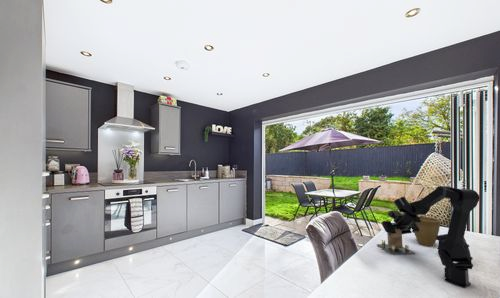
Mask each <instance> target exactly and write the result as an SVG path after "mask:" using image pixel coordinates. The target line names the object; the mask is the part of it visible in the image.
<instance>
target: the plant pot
mask: <svg viewBox="0 0 500 298" xmlns="http://www.w3.org/2000/svg"><path fill="white" fill-rule="evenodd" d="M418 217H420V220H421V222H415V223H416V225H417V226H418V228H419V232H418V233H413V234H414V236H415V239H416V240H417V243H418V244H419V245H421V246H425V247H434V246H435V244H436V241H437V240H436V236H438V235H439V233H440V228H441V227H440V226H441V220H440V219H438V218H434V217H429V216H422V215H418Z"/></svg>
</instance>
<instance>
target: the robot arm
mask: <svg viewBox="0 0 500 298" xmlns="http://www.w3.org/2000/svg"><path fill="white" fill-rule="evenodd" d="M445 198H446V199H449V203H450V204H451V207H452V211H451V212H452V213H451V217H450V221H449V226H448V231H447V233H446V234H447V238H446V240H440V241H438V246H437V247H436V249H437V254H438V256H439V259H440V262H441V265H443V266H444V269H443V270H444V272H443V273H444V281H445V282H448V283H451V284H454V285H455V286H456V285H457V286H460V287H462V288H465V289H466V288H467V287H468V286H470V285H471V284H472V283H471V282H470V277H469V270H472V269H473V267H474V264H473V262H472V261H471V262H472V263H471V262H470V260H469V259H468V258H467V257H466V255H465V248H464V246H463V244H462V243H463V238H465V233H466V229H467V225H468V221H469V216H470V213H471V212H472V211H473V210H474V209H475V208H476V207H477V206H478V203H479V202H480V198H481V197H480V194H479V193H478V192H477V191H475V190H474V189H472V188H457V187H456V188H455V187H451V186H449V185H447V186H445V185H440V186H439V185H438V186H436V187H435V189H433V191H431V192H430V193H428V194H427V195H425V196H423V198H421V199H420V200H416V201H413V202H410V203H409V202H408V200H407V198H406V197H405V196H401V197H399V198H397V199H395V200H393V203H394V205H395V207H396V208H397V210H390V211H388V213H387V216H388V217H389V218H391V219H393V222H391V221H390V220H383V221H382V222H381V224H380V225H382V227H383V229H384V231H385V233H388V235H392V234H395V233H396V230H397V229H400V230H402V235H406V234H407V235H408V234H414V233H418V232H419V228H418V226H417V225H416V223H415V222H421V220H420V217H418V216H425V215H426V214H428V213H429V212H430V210H431V209H430V208H431V207H433V206H435V205H436V204H437V203H439V202H440V201H442V200H443V199H445ZM392 223H394V225H392ZM388 235H387V236H388Z"/></svg>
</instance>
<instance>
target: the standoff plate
mask: <svg viewBox="0 0 500 298" xmlns="http://www.w3.org/2000/svg"><path fill="white" fill-rule="evenodd" d="M376 246H377V247H378V248H380V249H381V250H383V251H385V252H386V253H389V254H390V255H393V256H394V255H395V256H396V255H399V256H403V255H404V256H407V255H413V256H414V255H416V252H415V251H412V249H411V250H410V249H409V248H410V247H409V245H407V244H405V245H404V246H403V248H399V249H395V245H392V247H390V246H388V243H387V244H386V240H385V239H382V240H381V243H377V244H376Z"/></svg>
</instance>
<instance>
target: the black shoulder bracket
mask: <svg viewBox="0 0 500 298" xmlns="http://www.w3.org/2000/svg"><path fill="white" fill-rule="evenodd" d="M447 234H448V233H446V234H445V233H444V234H438V236H436V241H438V242H439V241H440V240H446V238H447ZM462 244H463V246H464V248H465V255H466V257H467V258H468V259H469V260H470V262H471V263H472V264H473V262H472V260H473V257H472V256H471V251H470V248H469V247H470V245H469V244H468V243H467V240H466V239H465V237H464V238H463V243H462Z"/></svg>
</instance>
